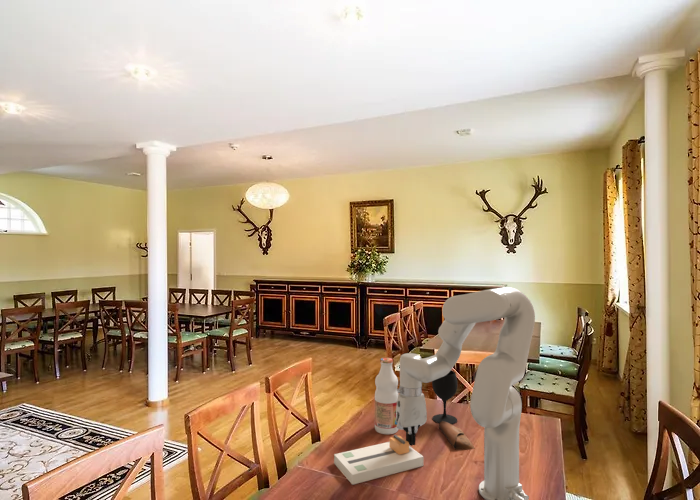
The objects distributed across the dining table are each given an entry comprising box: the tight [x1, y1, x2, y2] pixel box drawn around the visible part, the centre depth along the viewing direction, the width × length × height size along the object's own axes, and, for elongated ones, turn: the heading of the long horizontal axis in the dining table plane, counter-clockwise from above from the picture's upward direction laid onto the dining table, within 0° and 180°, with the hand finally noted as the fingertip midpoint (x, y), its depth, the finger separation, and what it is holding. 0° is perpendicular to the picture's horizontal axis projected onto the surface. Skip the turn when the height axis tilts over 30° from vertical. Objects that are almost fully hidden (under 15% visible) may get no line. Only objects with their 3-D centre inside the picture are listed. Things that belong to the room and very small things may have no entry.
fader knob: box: [389, 434, 410, 455], centre depth 140 cm, size 4×6×4 cm, turn 25°
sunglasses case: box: [438, 421, 476, 451], centre depth 156 cm, size 18×7×7 cm
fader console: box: [333, 441, 425, 486], centre depth 137 cm, size 26×14×3 cm, turn 115°
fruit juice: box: [374, 357, 399, 435], centre depth 163 cm, size 9×9×28 cm
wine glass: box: [431, 369, 458, 425], centre depth 173 cm, size 10×10×20 cm
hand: (410, 443), depth 142 cm, fingers closed
